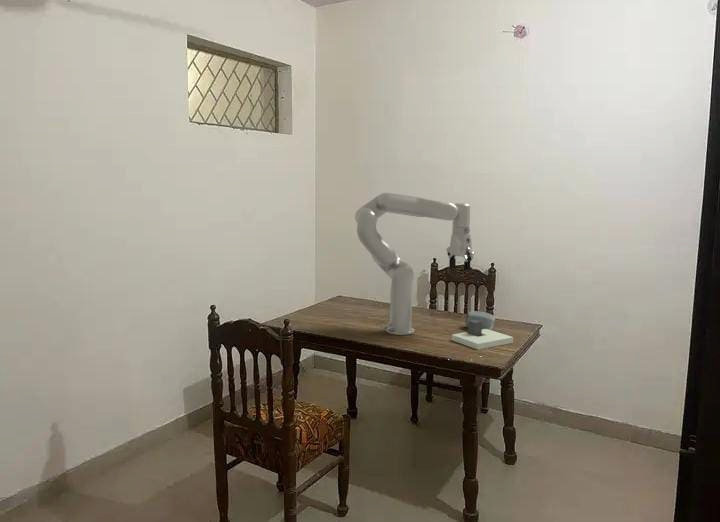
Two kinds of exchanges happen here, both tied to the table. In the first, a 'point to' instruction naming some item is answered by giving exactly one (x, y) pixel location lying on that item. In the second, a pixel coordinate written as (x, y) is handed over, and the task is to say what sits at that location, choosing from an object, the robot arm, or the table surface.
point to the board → (482, 339)
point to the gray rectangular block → (475, 328)
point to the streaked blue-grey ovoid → (481, 319)
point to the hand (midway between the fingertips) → (459, 268)
